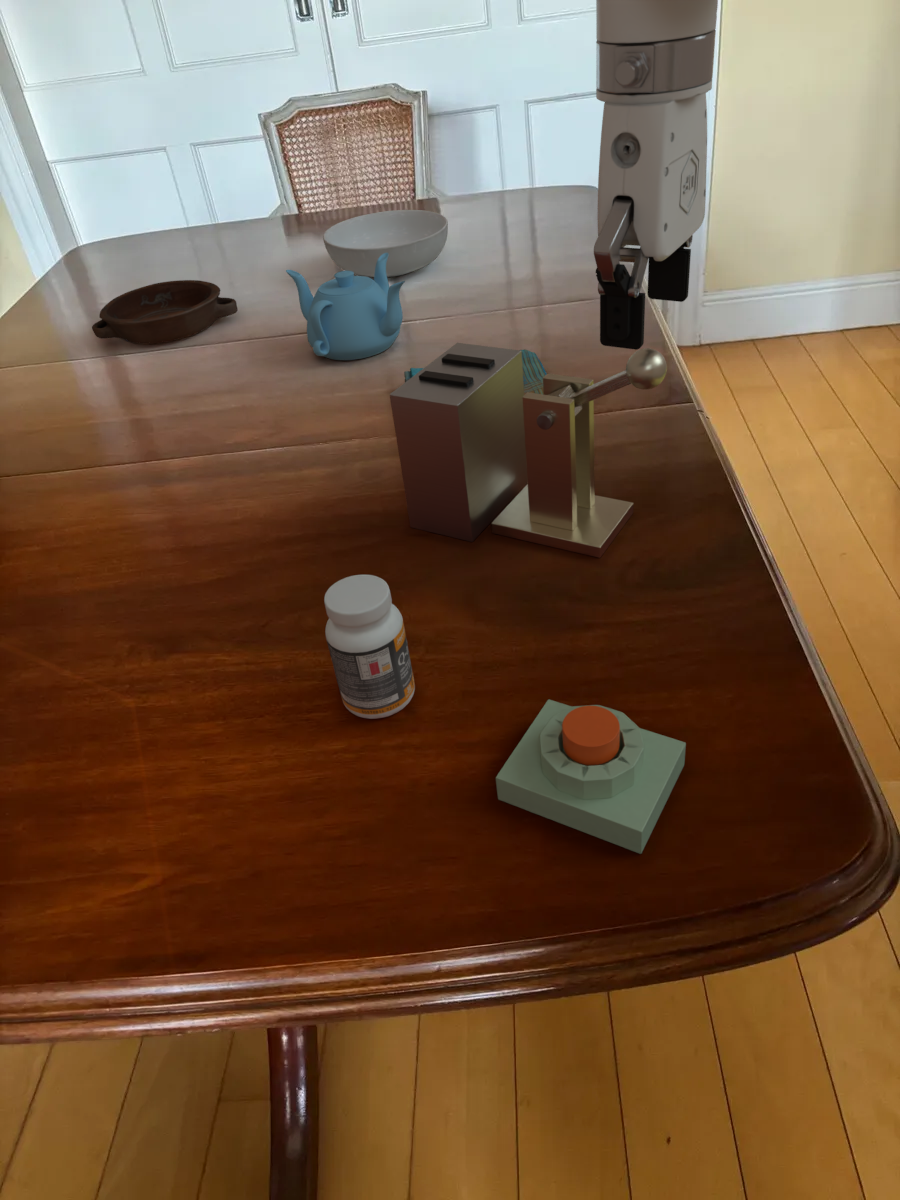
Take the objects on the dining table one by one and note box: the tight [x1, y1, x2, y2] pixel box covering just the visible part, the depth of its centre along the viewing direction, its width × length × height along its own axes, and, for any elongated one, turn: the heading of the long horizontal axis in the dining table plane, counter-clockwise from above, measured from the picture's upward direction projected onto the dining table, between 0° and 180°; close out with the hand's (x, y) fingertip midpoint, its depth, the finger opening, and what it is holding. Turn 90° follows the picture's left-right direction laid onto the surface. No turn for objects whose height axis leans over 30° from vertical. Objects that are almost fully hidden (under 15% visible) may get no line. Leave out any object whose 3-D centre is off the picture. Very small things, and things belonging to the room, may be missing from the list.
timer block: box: [495, 698, 687, 855], centre depth 59 cm, size 10×8×4 cm
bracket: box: [491, 373, 634, 559], centre depth 81 cm, size 11×8×14 cm
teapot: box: [285, 253, 406, 361], centre depth 123 cm, size 15×15×10 cm
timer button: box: [562, 705, 620, 765], centre depth 57 cm, size 4×4×2 cm
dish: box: [91, 279, 238, 345], centre depth 138 cm, size 18×22×5 cm
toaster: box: [389, 342, 528, 543], centre depth 85 cm, size 7×12×14 cm, turn 150°
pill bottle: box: [323, 574, 416, 720], centre depth 66 cm, size 6×6×10 cm
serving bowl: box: [322, 209, 449, 279], centre depth 150 cm, size 21×21×7 cm
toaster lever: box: [548, 347, 668, 416], centre depth 74 cm, size 12×3×3 cm, turn 60°
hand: (645, 321), depth 69 cm, fingers open, 9 cm apart
